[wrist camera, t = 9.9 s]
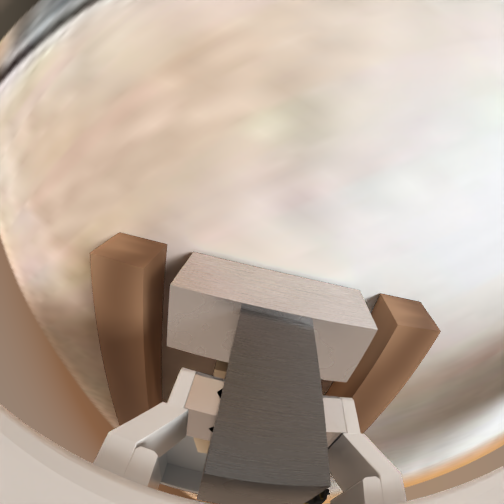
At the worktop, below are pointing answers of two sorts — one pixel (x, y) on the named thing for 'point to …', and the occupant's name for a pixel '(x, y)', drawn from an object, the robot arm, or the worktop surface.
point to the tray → (182, 466)
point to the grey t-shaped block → (267, 372)
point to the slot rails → (150, 334)
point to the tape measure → (319, 498)
